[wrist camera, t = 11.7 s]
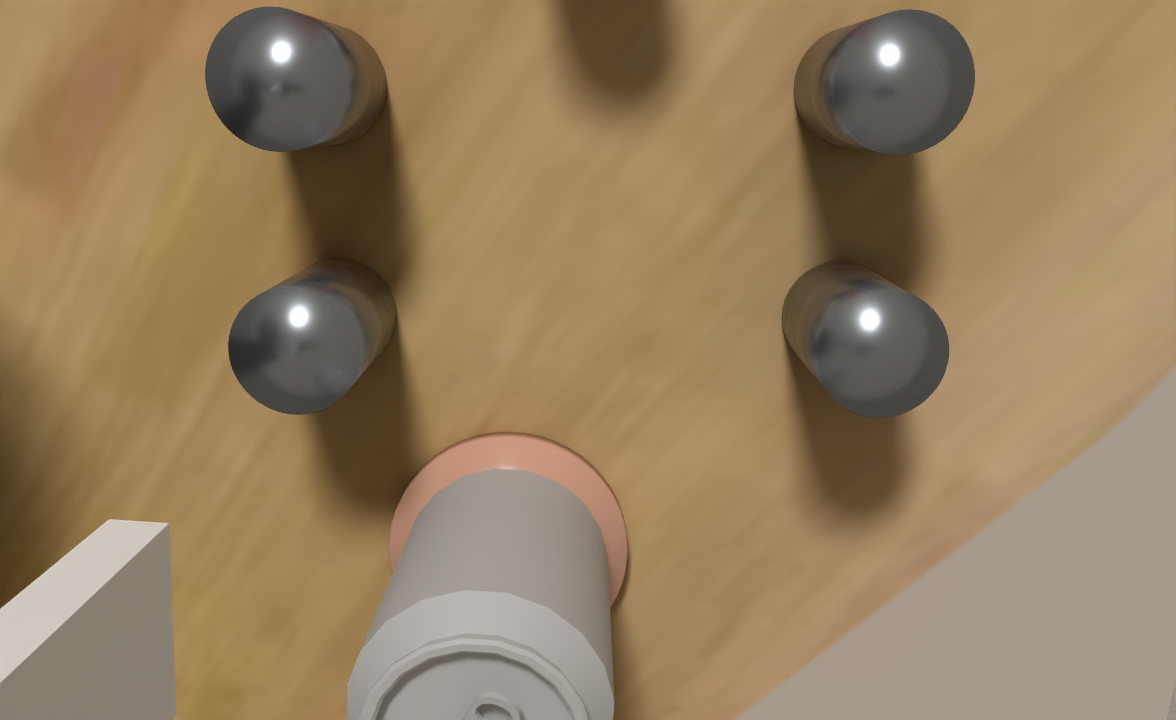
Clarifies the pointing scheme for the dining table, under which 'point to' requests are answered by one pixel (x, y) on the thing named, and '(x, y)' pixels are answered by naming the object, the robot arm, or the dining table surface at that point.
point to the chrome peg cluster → (365, 303)
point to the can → (493, 610)
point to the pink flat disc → (517, 455)
